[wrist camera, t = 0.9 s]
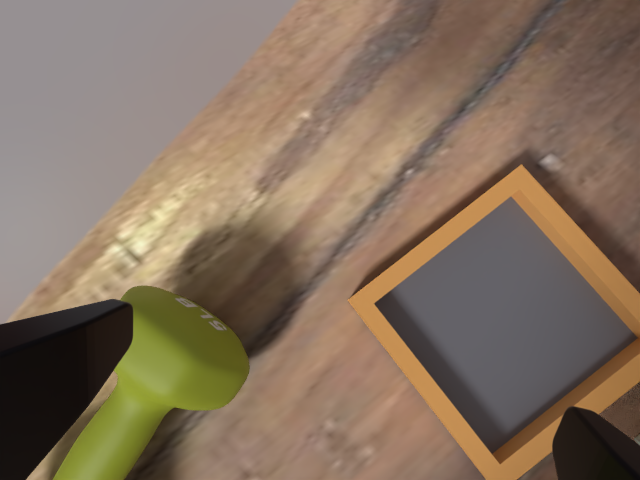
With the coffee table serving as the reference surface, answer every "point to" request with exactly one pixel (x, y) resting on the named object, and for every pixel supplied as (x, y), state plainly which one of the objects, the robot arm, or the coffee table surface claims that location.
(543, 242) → the tray
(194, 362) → the dumbbell
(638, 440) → the sage block
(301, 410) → the coffee table surface
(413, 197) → the coffee table surface
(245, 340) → the coffee table surface
